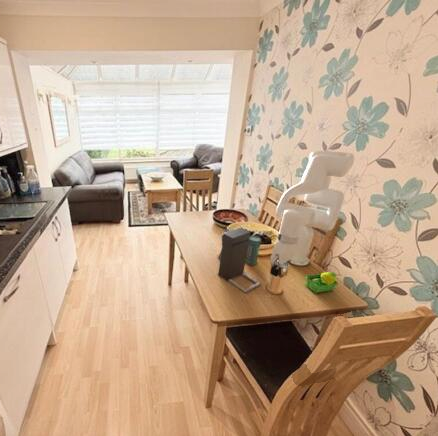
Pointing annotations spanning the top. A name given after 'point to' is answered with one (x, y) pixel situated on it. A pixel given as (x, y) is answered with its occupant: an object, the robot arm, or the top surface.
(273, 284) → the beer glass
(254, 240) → the can
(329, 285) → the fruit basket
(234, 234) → the coffee maker
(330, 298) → the top surface
